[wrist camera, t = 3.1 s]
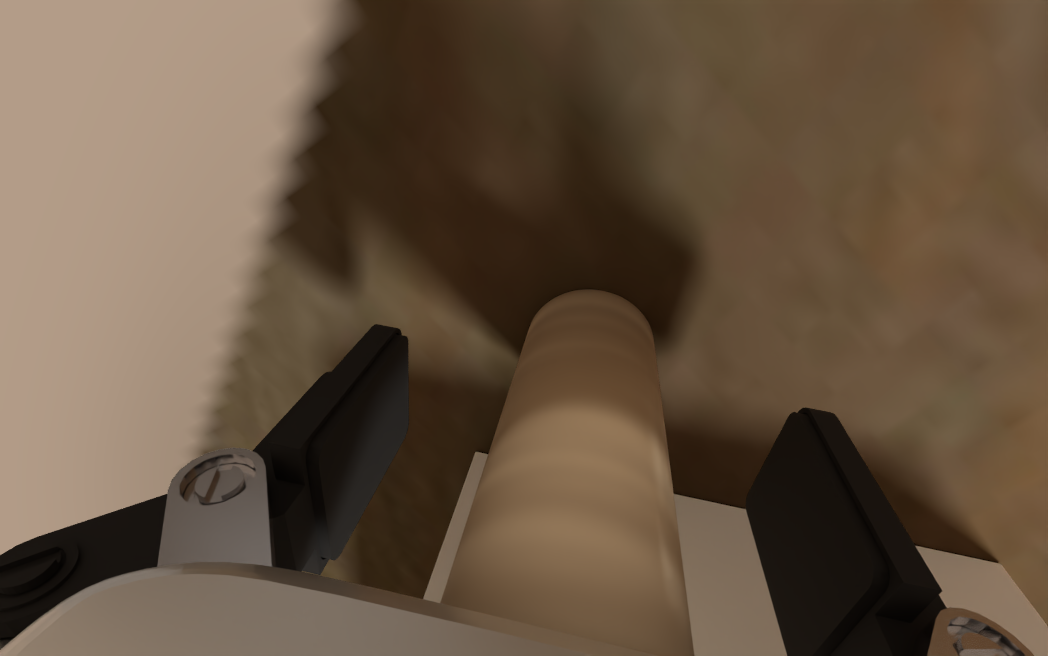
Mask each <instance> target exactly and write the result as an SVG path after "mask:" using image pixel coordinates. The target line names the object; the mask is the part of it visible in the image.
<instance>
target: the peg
mask: <svg viewBox="0 0 1048 656" xmlns="http://www.w3.org/2000/svg"><path fill="white" fill-rule="evenodd" d="M440 603H441V604H446V605H450V606H454V607H458V608H463V609H467V610H471V611H475V612H479V613H484V614H488V615H492V616H496V617H501V618H505V619H509V620H513V621H517V622H521V623H526V624H530V625H534V626H538V627H542V628H546V629H550V630H555V631H559V632H563V633H567V634H571V635H575V636H579V637H584V638H588V639H592V640H596V641H600V642H604V643H608V644H612V645H616V646H621V647H625V648H629V649H633V650H637V651H641V652H645V653H649V654H653V655H658V656H694V649H693V641H692V633H691V625H690V617H689V610H688V602H687V594H686V586H685V578H684V571H683V563H682V555H681V547H680V539H679V532H678V524H677V516H676V508H675V501H674V493H673V485H672V477H671V469H670V462H669V454H668V446H667V438H666V430H665V423H664V415H663V407H662V399H661V391H660V384H659V376H658V368H657V360H656V352H655V345H654V337H653V333H652V330H651V327H650V325H649V323H648V321H647V319H646V318H645V316H644V315H643V314H642V313H641V311H640V310H639V309H638V308H637V307H635V306H634V305H633V304H632V303H630V302H629V301H627V300H626V299H624V298H622V297H620V296H618V295H615V294H613V293H610V292H606V291H602V290H593V289H584V290H575V291H571V292H567V293H564V294H562V295H559V296H557V297H555V298H554V299H552V300H550V301H549V302H548V303H546V304H545V305H544V306H543V307H542V308H541V309H540V310H539V311H538V312H537V314H536V315H535V316H534V318H533V320H532V322H531V324H530V327H529V330H528V333H527V336H526V339H525V342H524V345H523V348H522V351H521V354H520V358H519V361H518V364H517V367H516V370H515V373H514V376H513V379H512V382H511V385H510V389H509V392H508V395H507V398H506V401H505V404H504V407H503V410H502V413H501V416H500V420H499V423H498V426H497V429H496V432H495V435H494V438H493V441H492V444H491V447H490V450H489V454H488V457H487V460H486V463H485V466H484V469H483V472H482V475H481V478H480V481H479V485H478V488H477V491H476V494H475V497H474V500H473V503H472V506H471V509H470V512H469V516H468V519H467V522H466V525H465V528H464V531H463V534H462V537H461V540H460V543H459V547H458V550H457V553H456V556H455V559H454V562H453V565H452V568H451V571H450V574H449V578H448V581H447V584H446V587H445V590H444V593H443V596H442V599H441V602H440Z"/></svg>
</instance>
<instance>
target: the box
mask: <svg viewBox="0 0 1048 656" xmlns="http://www.w3.org/2000/svg"><path fill="white" fill-rule="evenodd" d="M487 457H488V454H485V453H480V452H475V454H474V457H473V460H472V463H471V466H470V468H469V471H468V474H467V477H466V480H465V482H464V485H463V488H462V491H461V494H460V496H459V499H458V502H457V505H456V508H455V510H454V513H453V516H452V519H451V522H450V524H449V527H448V530H447V533H446V536H445V539H444V541H443V544H442V547H441V550H440V553H439V555H438V558H437V561H436V564H435V567H434V569H433V572H432V575H431V578H430V581H429V583H428V586H427V589H426V592H425V595H424V597H423V599H425V600H429V601H433V602H437V603H440V602H441V599H442V596H443V593H444V590H445V587H446V584H447V581H448V578H449V574H450V571H451V568H452V565H453V562H454V559H455V556H456V553H457V550H458V547H459V543H460V540H461V537H462V534H463V531H464V528H465V525H466V522H467V519H468V516H469V512H470V509H471V506H472V503H473V500H474V497H475V494H476V491H477V488H478V485H479V481H480V478H481V475H482V472H483V469H484V466H485V463H486V460H487ZM674 501H675V508H676V516H677V524H678V532H679V539H680V547H681V555H682V563H683V571H684V578H685V586H686V594H687V602H688V610H689V617H690V625H691V633H692V641H693V649H694V656H787V653H786V650H785V646H784V643H783V639H782V636H781V632H780V629H779V625H778V622H777V618H776V615H775V611H774V607H773V604H772V600H771V597H770V593H769V590H768V586H767V583H766V579H765V576H764V572H763V569H762V565H761V562H760V558H759V554H758V551H757V547H756V544H755V540H754V537H753V533H752V530H751V526H750V523H749V519H748V516H747V512H746V509H742V508H737V507H732V506H728V505H723V504H718V503H714V502H709V501H704V500H700V499H695V498H690V497H686V496H681V495H676V494H674ZM916 548H917V550H918V551H919V553H920V555H921V556H922V558H923V560H924V561H925V563H926V565H927V566H928V568H929V569H930V571H931V573H932V574H933V576H934V578H935V579H936V581H937V583H938V584H939V586H940V588H941V589H942V592H941V593H940V594H939V596H940V597H941V599H942V601H943V602H944V604H945V606H946V607H947V608H949V607H953V608H964V609H967V610H970V611H973V612H975V613H978V614H981V615H982V616H984V617H986V618H988V619H990V620H992V621H994V622H995V623H997V624H998V625H1000V626H1001V627H1003V628H1004V629H1005V630H1007V631H1008V632H1010V633H1011V634H1012V635H1014V636H1015V637H1016V638H1017V639H1018V640H1019V641H1020V642H1021V643H1022V644H1023V645H1025V646H1026V647H1027V648H1028V649H1029V650H1030V651H1031V652H1032V653H1033V655H1034V656H1048V626H1047V625H1046V623H1045V622H1044V621H1043V619H1042V618H1041V617H1040V615H1039V614H1038V613H1037V611H1036V610H1035V609H1034V607H1033V606H1032V605H1031V603H1030V602H1029V601H1028V599H1027V598H1026V597H1025V595H1024V594H1023V593H1022V591H1021V590H1020V589H1019V587H1018V586H1017V585H1016V583H1015V582H1014V581H1013V579H1012V578H1011V577H1010V576H1009V574H1008V573H1007V572H1006V570H1005V569H1004V568H1003V566H1002V565H1001V564H999V563H994V562H990V561H985V560H980V559H976V558H971V557H966V556H962V555H957V554H952V553H948V552H943V551H938V550H934V549H929V548H924V547H920V546H916Z"/></svg>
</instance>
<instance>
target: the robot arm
mask: <svg viewBox="0 0 1048 656" xmlns="http://www.w3.org/2000/svg"><path fill="white" fill-rule="evenodd" d="M408 425H409V389H408V338H407V337H406V336H402V334H401V330H400V329H398V328H393V327H388V326H383V325H378V324H376V325H374V326H372V327H371V329H370V330H369V331H368V332H367V333H366V334H365V335H364V336H363V337H362V339H361V340H360V341H359V342H358V343H357V344H356V345H355V346H354V347H353V349H352V350H351V351H350V352H349V353H348V354H347V355H346V356H345V357H344V359H343V360H342V361H341V362H340V363H339V364H338V365H337V366H336V367H335V369H334V370H333V371H332V372H327V373H325V374H323V375H322V376H321V377H320V378H319V379H318V380H317V381H316V382H315V383H314V385H313V386H312V387H311V388H310V389H309V390H308V391H307V392H306V393H305V394H304V395H303V396H302V398H301V399H300V400H299V401H298V402H297V403H296V404H295V405H294V406H293V407H292V408H291V410H290V411H289V412H288V413H287V414H286V415H285V416H284V417H283V418H282V419H281V420H280V421H279V423H278V424H277V425H276V426H275V427H274V428H273V429H272V430H271V431H270V432H269V433H268V435H267V436H266V437H265V438H264V439H263V440H262V441H261V442H260V443H259V444H258V445H257V446H256V448H255V449H254V450H253V451H250V450H248V449H242V448H228V449H220V450H216V451H213V452H210V453H207V454H204V455H202V456H200V457H198V458H196V459H194V460H192V461H191V462H189V463H188V464H187V465H186V466H184V467H183V468H182V469H180V471H179V472H178V473H177V474H176V475H175V477H174V478H173V479H172V481H171V484H170V486H169V489H168V494H165V495H162V496H160V497H156V498H154V499H150V500H147V501H145V502H141V503H139V504H135V505H133V506H130V507H126V508H123V509H120V510H117V511H114V512H111V513H108V514H105V515H102V516H99V517H96V518H93V519H90V520H87V521H85V522H81V523H78V524H75V525H72V526H69V527H66V528H63V529H60V530H57V531H54V532H51V533H48V534H45V535H42V536H39V537H36V538H34V539H31V540H29V541H26V542H24V543H22V544H19V545H17V546H15V547H13V548H12V549H10V550H8V551H7V552H5V553H3V554H2V555H0V656H658V655H653V654H649V653H645V652H641V651H637V650H633V649H629V648H625V647H621V646H616V645H612V644H608V643H604V642H600V641H596V640H592V639H588V638H584V637H579V636H575V635H571V634H567V633H563V632H559V631H555V630H550V629H546V628H542V627H538V626H534V625H530V624H526V623H521V622H517V621H513V620H509V619H505V618H501V617H496V616H492V615H488V614H484V613H479V612H475V611H471V610H467V609H463V608H458V607H454V606H450V605H446V604H441V603H437V602H433V601H429V600H425V599H420V598H416V597H412V596H408V595H403V594H399V593H395V592H391V591H387V590H382V589H378V588H373V587H369V586H364V585H360V584H355V583H351V582H346V581H341V580H337V579H332V578H328V577H323V576H318V575H320V574H321V573H322V571H323V569H324V567H325V566H326V564H327V562H328V560H329V559H331V560H336V559H337V558H338V557H339V555H340V554H341V552H342V550H343V549H344V547H345V545H346V543H347V541H348V540H349V538H350V536H351V534H352V532H353V531H354V529H355V527H356V525H357V523H358V522H359V520H360V518H361V516H362V514H363V512H364V511H365V509H366V507H367V505H368V503H369V502H370V500H371V498H372V496H373V494H374V493H375V491H376V489H377V487H378V485H379V484H380V482H381V480H382V478H383V476H384V475H385V473H386V471H387V469H388V467H389V466H390V464H391V462H392V460H393V458H394V456H395V455H396V453H397V451H398V449H399V447H400V446H401V444H402V442H403V440H404V438H405V436H406V433H407V430H408ZM746 512H747V516H748V519H749V523H750V526H751V530H752V533H753V537H754V540H755V544H756V547H757V551H758V554H759V558H760V562H761V565H762V569H763V572H764V576H765V579H766V583H767V586H768V590H769V593H770V597H771V600H772V604H773V607H774V611H775V615H776V618H777V622H778V625H779V629H780V632H781V636H782V639H783V643H784V646H785V650H786V653H787V656H1034V655H1033V653H1032V652H1031V651H1030V650H1029V649H1028V648H1027V647H1026V646H1025V645H1023V644H1022V643H1021V642H1020V641H1019V640H1018V639H1017V638H1016V637H1015V636H1014V635H1012V634H1011V633H1010V632H1008V631H1007V630H1005V629H1004V628H1003V627H1001V626H1000V625H998V624H997V623H995V622H994V621H992V620H990V619H988V618H986V617H984V616H982V615H981V614H978V613H975V612H973V611H970V610H967V609H964V608H953V607H949V608H947V607H946V606H945V604H944V602H943V601H942V599H941V597H940V596H939V594H940V593H941V592H942V589H941V588H940V586H939V584H938V583H937V581H936V579H935V578H934V576H933V574H932V573H931V571H930V569H929V568H928V566H927V565H926V563H925V561H924V560H923V558H922V556H921V555H920V553H919V551H918V550H917V548H916V546H915V545H914V543H913V541H912V540H911V538H910V536H909V535H908V533H907V532H906V530H905V528H904V527H903V525H902V523H901V522H900V520H899V518H898V517H897V515H896V513H895V512H894V510H893V508H892V507H891V505H890V504H889V502H888V500H887V499H886V497H885V495H884V494H883V492H882V490H881V489H880V487H879V485H878V484H877V482H876V480H875V479H874V477H873V476H872V474H871V472H870V471H869V469H868V467H867V466H866V464H865V462H864V461H863V459H862V457H861V456H860V454H859V452H858V451H857V449H856V448H855V446H854V444H853V443H852V441H851V439H850V438H849V436H848V434H847V433H846V431H845V429H844V428H843V426H842V424H841V423H840V421H839V420H838V418H837V417H836V415H835V414H833V413H831V412H826V411H820V410H815V409H810V408H802V409H801V410H799V412H798V413H796V412H793V413H791V414H790V415H789V417H788V419H787V420H786V422H785V424H784V426H783V428H782V430H781V432H780V434H779V436H778V438H777V439H776V441H775V443H774V445H773V447H772V449H771V451H770V453H769V455H768V457H767V458H766V460H765V462H764V464H763V466H762V468H761V470H760V472H759V474H758V476H757V477H756V479H755V481H754V483H753V485H752V487H751V489H750V491H749V493H748V495H747V498H746ZM301 571H306V572H310V573H314V574H318V575H314V574H309V573H305V572H301Z"/></svg>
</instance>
